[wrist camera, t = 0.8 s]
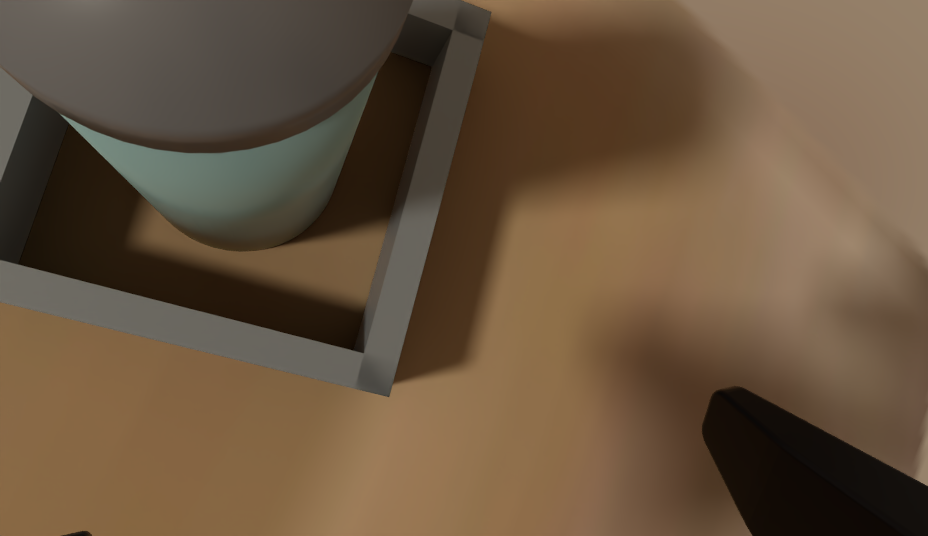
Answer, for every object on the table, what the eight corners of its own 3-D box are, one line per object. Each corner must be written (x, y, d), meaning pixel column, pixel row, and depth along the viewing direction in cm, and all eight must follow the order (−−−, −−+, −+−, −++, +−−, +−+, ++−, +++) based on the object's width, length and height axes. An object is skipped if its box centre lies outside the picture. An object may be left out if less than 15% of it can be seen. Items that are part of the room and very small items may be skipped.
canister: (311, 278, 22) (359, 194, 9) (108, 221, 21) (-208, 18, 7) (363, 99, 23) (479, -224, 10) (172, 34, 22) (-4, -449, 8)
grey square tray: (374, 389, 22) (389, 397, 20) (-33, 288, 20) (-86, 281, 17) (466, 50, 24) (491, 11, 21) (105, -84, 22) (77, -148, 19)
